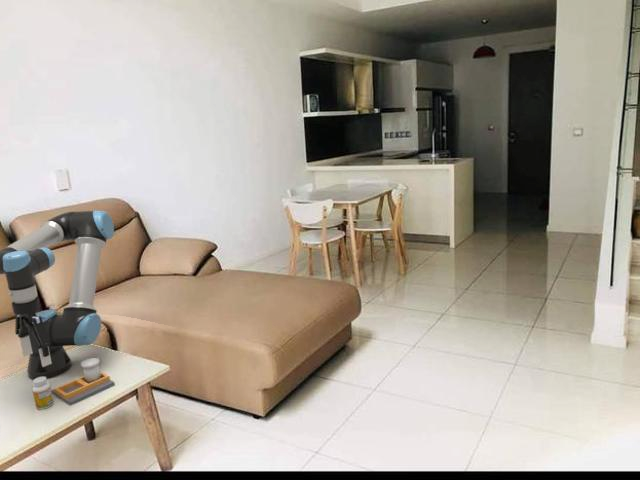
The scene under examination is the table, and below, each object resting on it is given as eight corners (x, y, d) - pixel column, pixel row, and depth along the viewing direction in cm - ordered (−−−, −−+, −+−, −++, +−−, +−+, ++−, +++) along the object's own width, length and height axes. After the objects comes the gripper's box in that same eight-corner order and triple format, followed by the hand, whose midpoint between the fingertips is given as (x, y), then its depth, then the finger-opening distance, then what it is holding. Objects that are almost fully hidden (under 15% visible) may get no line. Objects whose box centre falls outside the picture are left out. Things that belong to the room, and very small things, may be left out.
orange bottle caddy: (51, 393, 184) (47, 370, 182) (94, 374, 196) (91, 352, 194) (70, 405, 175) (66, 381, 173) (114, 385, 187) (110, 362, 185)
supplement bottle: (35, 404, 178) (30, 378, 175) (53, 399, 180) (48, 373, 178) (36, 411, 173) (30, 385, 171) (54, 406, 175) (48, 380, 173)
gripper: (-4, 296, 172) (9, 355, 177) (30, 310, 157) (43, 374, 162) (19, 289, 178) (32, 346, 183) (55, 302, 163) (67, 364, 168)
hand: (37, 359), depth 173 cm, fingers open, 13 cm apart
